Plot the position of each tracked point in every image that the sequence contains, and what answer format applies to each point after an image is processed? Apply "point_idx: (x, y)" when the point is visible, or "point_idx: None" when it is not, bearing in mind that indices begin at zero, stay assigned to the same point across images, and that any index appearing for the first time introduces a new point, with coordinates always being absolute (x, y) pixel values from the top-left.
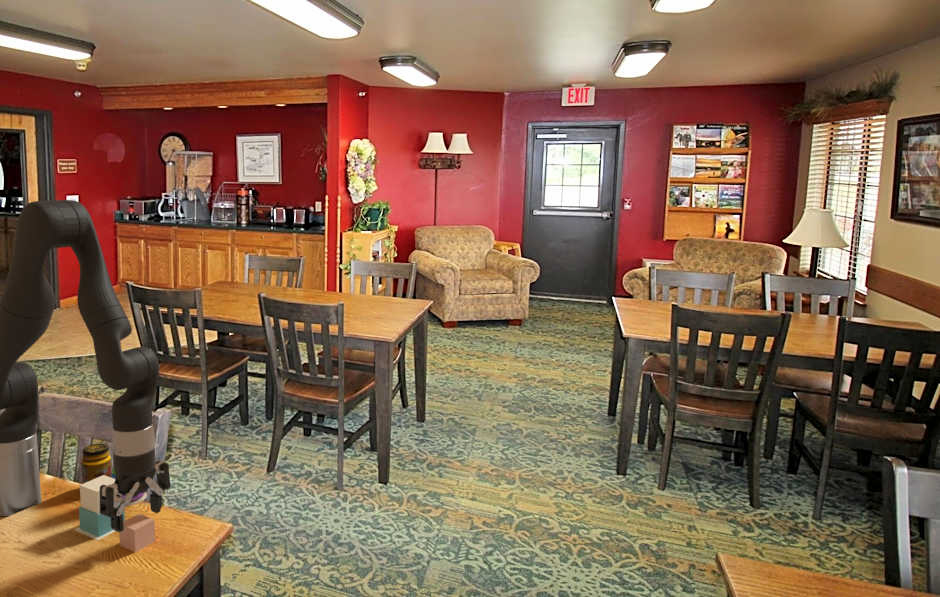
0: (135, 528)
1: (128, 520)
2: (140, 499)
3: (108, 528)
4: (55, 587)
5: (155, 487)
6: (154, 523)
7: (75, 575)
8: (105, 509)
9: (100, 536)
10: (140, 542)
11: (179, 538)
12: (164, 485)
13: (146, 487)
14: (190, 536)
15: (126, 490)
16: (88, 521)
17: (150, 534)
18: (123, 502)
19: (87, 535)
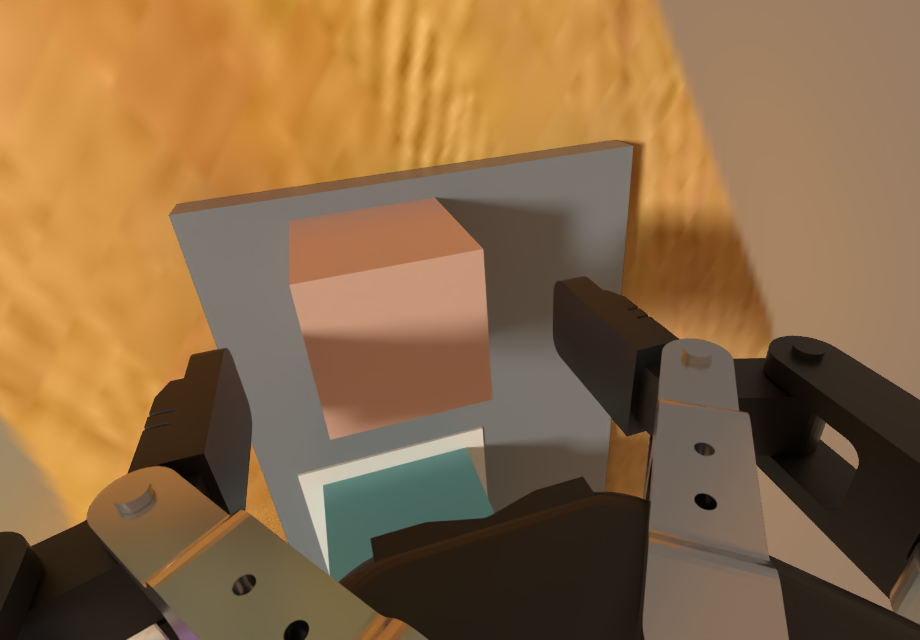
0: (464, 267)
1: (431, 399)
2: (154, 637)
3: (419, 475)
4: (730, 244)
5: (228, 560)
6: (290, 269)
7: (649, 266)
8: (815, 432)
9: (457, 448)
10: (407, 217)
11: (113, 179)
12: (23, 598)
13: (384, 593)
14: (25, 139)
15: (790, 578)
16: None
17: (328, 237)
18: (743, 421)
19: (486, 484)
